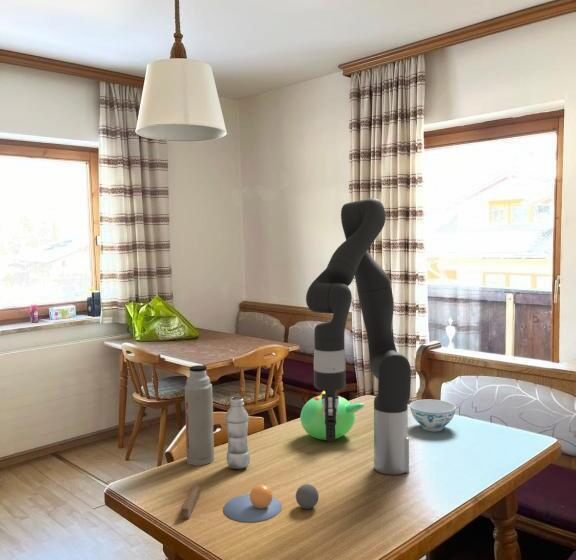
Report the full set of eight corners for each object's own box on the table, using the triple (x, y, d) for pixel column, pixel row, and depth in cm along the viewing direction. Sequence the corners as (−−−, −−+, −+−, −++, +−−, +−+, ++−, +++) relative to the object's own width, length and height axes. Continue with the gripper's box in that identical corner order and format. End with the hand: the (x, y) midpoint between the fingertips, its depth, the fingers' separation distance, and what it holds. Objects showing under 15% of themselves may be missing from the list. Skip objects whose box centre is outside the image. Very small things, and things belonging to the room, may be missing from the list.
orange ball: (266, 476, 139) (247, 487, 140) (263, 486, 134) (243, 497, 135) (278, 495, 139) (259, 506, 140) (275, 505, 134) (256, 517, 134)
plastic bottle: (246, 472, 158) (245, 402, 156) (223, 471, 159) (221, 401, 157) (252, 463, 164) (251, 395, 162) (230, 462, 165) (228, 394, 164)
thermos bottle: (185, 466, 163) (182, 370, 161) (188, 455, 171) (185, 364, 169) (213, 464, 164) (210, 369, 161) (214, 454, 171) (212, 363, 169)
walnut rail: (199, 495, 144) (199, 486, 144) (188, 519, 132) (188, 508, 132) (193, 495, 144) (193, 486, 144) (182, 519, 132) (181, 508, 132)
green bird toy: (336, 425, 196) (335, 383, 194) (367, 440, 181) (367, 395, 180) (291, 435, 186) (291, 392, 185) (320, 452, 172) (320, 404, 171)
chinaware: (461, 435, 184) (461, 412, 183) (414, 436, 184) (414, 412, 184) (448, 420, 199) (448, 399, 198) (405, 421, 199) (405, 399, 199)
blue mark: (283, 494, 144) (283, 494, 144) (279, 522, 130) (279, 521, 130) (228, 494, 145) (228, 493, 144) (218, 521, 131) (218, 520, 131)
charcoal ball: (300, 478, 140) (293, 499, 140) (299, 485, 134) (291, 507, 134) (322, 485, 139) (314, 507, 139) (321, 493, 134) (313, 515, 134)
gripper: (347, 374, 127) (347, 450, 128) (344, 361, 140) (345, 430, 141) (313, 374, 127) (314, 450, 128) (314, 361, 140) (315, 430, 141)
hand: (330, 439), depth 135 cm, fingers closed
